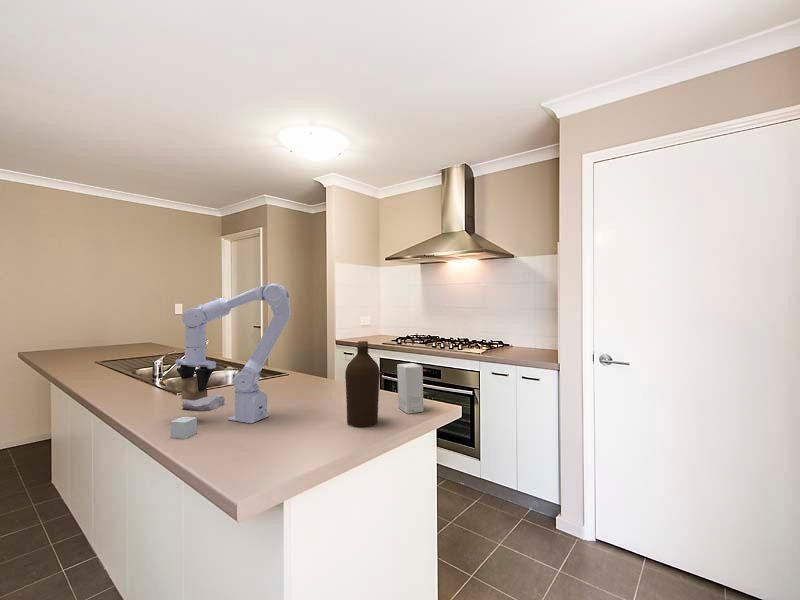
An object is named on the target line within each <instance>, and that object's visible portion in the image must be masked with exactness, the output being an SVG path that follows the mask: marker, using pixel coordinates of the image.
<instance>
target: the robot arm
mask: <svg viewBox="0 0 800 600" xmlns="http://www.w3.org/2000/svg"><path fill="white" fill-rule="evenodd" d="M290 300H291V297H290V295H289V292H288V290H287V288H286V287H285V286H284V285H282V284H280V283H275V282H274V283H269V284H267V285H261V286H257V287H254V288H251V289H250V290H247V291H245V292H242V293H241V294H237V295H235V296H233V297H231V298H228V299H226V298H225V297H224V298H223V297H213V298H212V300H211V301H208V302H206V303H204V304H202V303H199V304H197V307H189V308H188V309H186V310H185V311H184V312H183V313H182V316H181V320H182V322H183V323H184V358H178V359H175V367H176V372H177V373H178V375H179V376H180V379H181V380H182V379H186V378H190V377H195V376H196V377H197V381H198V390H199V392H202V391H205V390H206V387H207V388H208V382H209V379H210V378H211V375H212V374H213V372H214V371H215V369H217V361H213V360H209V359H206V357H207V356H206V354H207V353H206V351H207V350H206V349H207V346H206V343H207V340H206V338H207V337H206V336H207V332H206V328H207V327H206V326H207V325H206V324H207V323H209V322H210V323H211V322H212V321H215V320H217V319H220V318H222V317H224V316H225V317H226V316H227V315H229V314H230V313H231V310H232V309H234V308H237V307H238V308H239V307H240V306H243V305H245V304H246V305H247V304H248V303H251V302H254V301H265V302H266V303H267V304H268V305H269V306H270V308H271V311H272V313H273V317H272V318H271V320H270V322H269V324H268V326H267V327H266V329H265V331H264V332H263V335H262V336H261V338H260V339H259V341H258V343H257V345H256V346H255V349H254V350H253V352H252V354H251V356H250V357H249V359H248V361H246V364H244V366H243V368H242V369H241V371H239V372H238V373H236V374H235V375H234V377H233V380H232V385H233V387H234V415H233V416H230V417H228V418H227V419H228V420H229V421H234V422H240V423H248V424H253V423H256V422H259V421H260V420H263V419H265V418H267V417H270V414H268V397H267V396H268V395H267V394H266V393H265V392H264V391H261V390H260V387H259V385H258V383H259V380H260V378H261V372H262V369H263V367H264V364H265V363H266V361H267V359H268V357H269V356H270V354H271V352H272V351H273V349H274V347H275V345H276V344H277V341H278V339H279V338H280V337H281V335H282V333H283V331H284V329H285V328H286V326H287V324H288V322H289V320H290V318H291V316H292V314H291V313H292V311H291V301H290ZM177 367H178V368H177Z"/></svg>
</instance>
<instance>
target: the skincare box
mask: <svg viewBox="0 0 800 600" xmlns="http://www.w3.org/2000/svg"><path fill="white" fill-rule="evenodd" d="M396 365H397V367H396V369H397V399H398V400H397V407H398V409H399V410H401V411H403V412H404V413H405V414H407V415H410V414H416V413H424V375H423V374H424V373H423V372H424V369H423V367H424V366H423V365H420V364H417V363H414V362H410V363H399V364H396Z"/></svg>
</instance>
